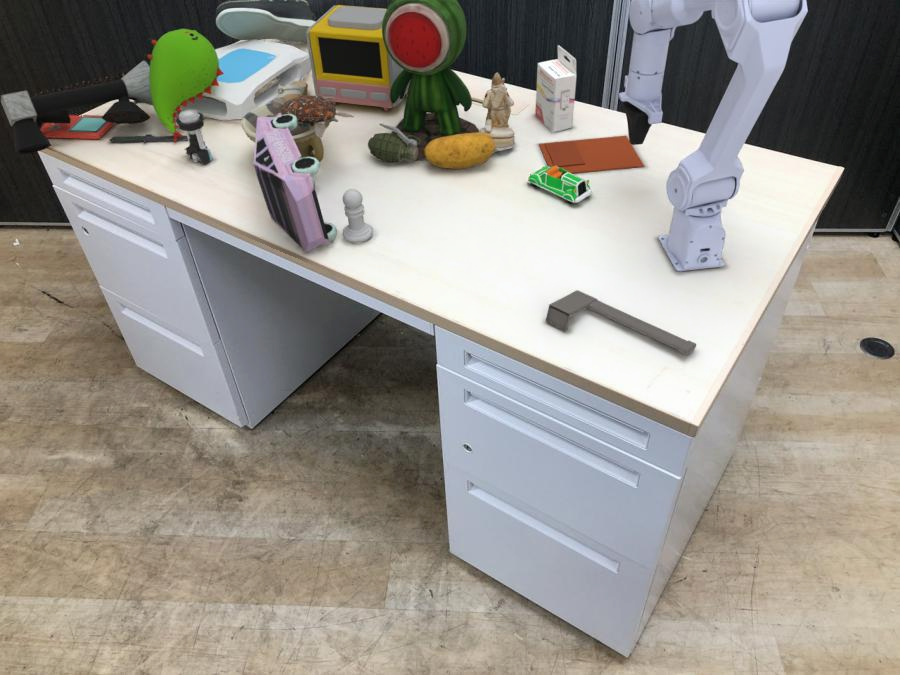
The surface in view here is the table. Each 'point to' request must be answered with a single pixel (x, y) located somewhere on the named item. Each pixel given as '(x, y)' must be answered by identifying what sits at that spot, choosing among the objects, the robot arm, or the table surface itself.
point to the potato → (460, 150)
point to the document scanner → (250, 77)
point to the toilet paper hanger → (579, 301)
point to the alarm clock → (352, 57)
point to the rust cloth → (591, 154)
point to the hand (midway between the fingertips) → (636, 142)
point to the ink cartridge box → (556, 91)
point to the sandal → (292, 90)
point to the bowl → (301, 136)
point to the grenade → (393, 146)
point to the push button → (194, 135)
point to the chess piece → (355, 218)
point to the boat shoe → (265, 19)
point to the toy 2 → (309, 111)
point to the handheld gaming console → (78, 127)
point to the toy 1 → (180, 73)
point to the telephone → (76, 106)
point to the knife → (145, 138)
